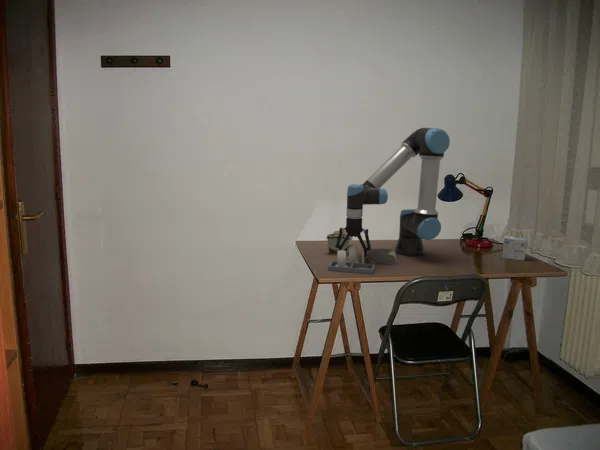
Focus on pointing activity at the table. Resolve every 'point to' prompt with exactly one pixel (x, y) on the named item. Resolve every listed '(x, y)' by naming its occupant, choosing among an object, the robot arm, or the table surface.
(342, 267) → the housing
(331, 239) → the food container
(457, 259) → the table surface
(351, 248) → the white pillar candle
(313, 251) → the table surface
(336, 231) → the lidded jar
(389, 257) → the geological specimen
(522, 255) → the light bulb box
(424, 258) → the table surface
